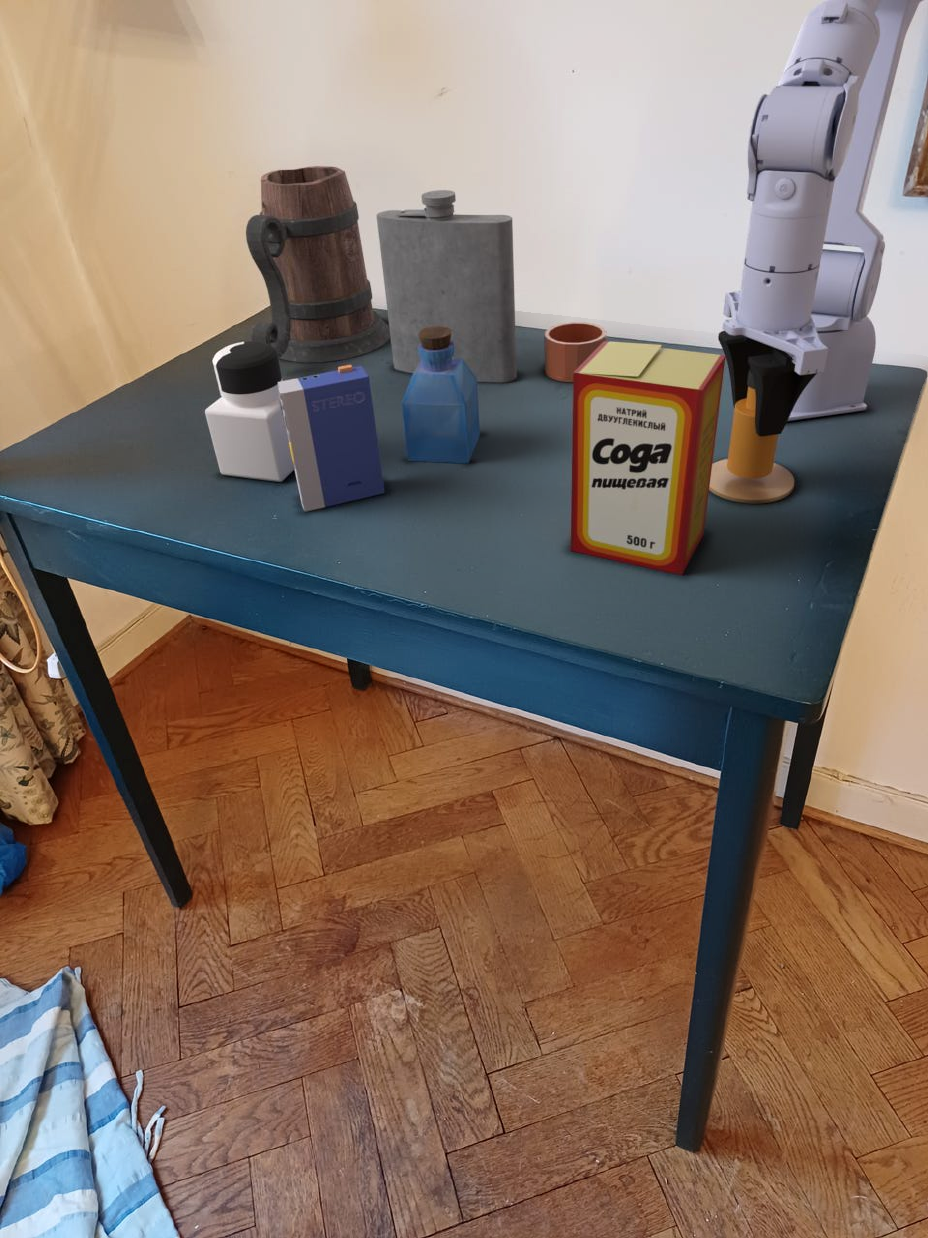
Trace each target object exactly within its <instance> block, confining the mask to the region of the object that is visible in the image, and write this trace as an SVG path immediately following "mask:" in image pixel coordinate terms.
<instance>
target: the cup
mask: <svg viewBox="0 0 928 1238" xmlns="http://www.w3.org/2000/svg"><path fill="white" fill-rule="evenodd" d="M607 333H608V332H607V330H606V329H605V327H603V326H601V325H599V324H597V323H590V322H585V321H583V322H582V321H573V322H564V323H559V324H556V325H552V326H551V327H549V328H548V329H546V330H545V332H544V335H543V337H544V338H543V340H544V343H543V345H544V348H543V349H544V351H543V352H544V353H543V355H544V359H543V360H544V373H545V375H546V376H547V377H548V378H550V379H552V380H554V381H558V382H564V383H573V373H574V372H575V371H576V370H577V368H578V367H579V366H580V365H581V364H582V363H583V362H584V361H585V360H586V359H587V358H588V357H589V356H590V355H591V354H592V353H593V352H594V351H595V350H596V349H597V348H598V347H599V346H600V345H601V344H602V343H603V342H604V341H607Z"/></svg>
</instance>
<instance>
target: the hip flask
mask: <svg viewBox="0 0 928 1238" xmlns="http://www.w3.org/2000/svg"><path fill="white" fill-rule="evenodd" d="M455 202H456V192H455V191H453V190H447V189H440V190H431V191H427V192H424V193H422V194H421V204H422V205H424V206H425V207H424V208H423V209H404V210H402V209H401V210H399V209H390V210H384V211H381V212H378V213H377V214H376V223H377V233H378V241H379V250H380V258H381V266H382V276H383V284H384V292H385V300H386V301H385V302H386V312H387V319H388V325H389V328H390V344H391V353H392V354H391V355H392V361H393V368H394V369H395V370H397V371H399V372H403V373H408V374H413V373H414V371H415V370H416V368H417V366H418V365H419V363H420V362H421V360H422V359H420V357H419V352H418V345H419V344H420V343H421V341H420V338H419V335H418V333H419V331H420V330H422V329H425V328H428V327H435V326H442V327H447V328H450V329H451V330H452V332H451V339H450V340H451V341H453V342H454V349H455V354H454V356H453V357H452V358H454V359H463V360H464V362H465V363H466V365H467V366H468V367H469V369H470V370H471V371H472V373H473V374H474V375H475V377H476V378H477V383H478V382H479V383H500V384H501V383H509V382H512V381H514V380H516V379H517V377H518V375H517V371H518V370H517V340H516V339H517V338H516V304H515V303H516V302H515V301H516V300H515V265H514V262H515V261H514V231H513V230H514V229H513V227H514V226H513V217H512V216H511V215H507V214H456V213H455V205H454V203H455ZM454 213H455V214H454Z"/></svg>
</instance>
